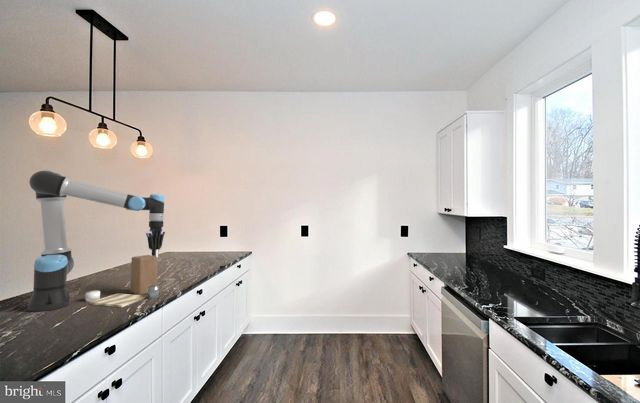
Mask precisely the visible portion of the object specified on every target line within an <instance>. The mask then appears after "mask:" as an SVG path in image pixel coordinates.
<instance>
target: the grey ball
mask: <svg viewBox="0 0 640 403" xmlns="http://www.w3.org/2000/svg"><path fill="white" fill-rule="evenodd" d="M159 293H160V284H157V285H151V286H149V287H148V294H147V299H148V300H156V299H158V298H159V296H160V294H159Z"/></svg>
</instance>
